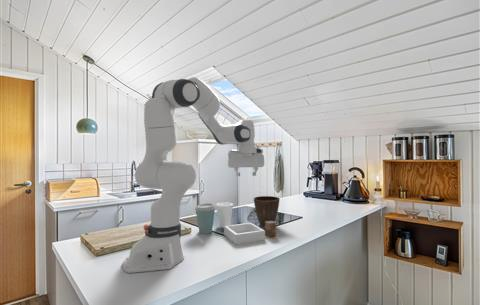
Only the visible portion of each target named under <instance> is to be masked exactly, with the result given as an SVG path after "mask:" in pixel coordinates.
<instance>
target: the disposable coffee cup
mask: <svg viewBox="0 0 480 305" xmlns="http://www.w3.org/2000/svg"><path fill="white" fill-rule="evenodd" d="M194 210H195V214H196V219H197V220H196V221H197V226H198V232H199V233H200V234H201V235H209V234H211V233H213V228H214V220H215V210H216V205H215V203H210V202H209V203H208V202H207V203H201V204H199V205H196V206H195V209H194Z"/></svg>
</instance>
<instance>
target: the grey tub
mask: <svg viewBox="0 0 480 305" xmlns="http://www.w3.org/2000/svg"><path fill="white" fill-rule="evenodd" d="M223 235H224V236H225V237H226V238H227V239H228V240H229V241H231V242H232V243H233V244H235V245H243V244H249V243H254V242H255V243H256V242H259V241H265V240H266V238H265V229H263V228H261V227H259V226H257V225H255V224H254V223H252V222H246V223H239V224H238V223H237V224H230V225H229V226H224V228H223Z"/></svg>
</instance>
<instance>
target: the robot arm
mask: <svg viewBox="0 0 480 305" xmlns="http://www.w3.org/2000/svg"><path fill="white" fill-rule="evenodd" d="M191 106H192V107H193V108H194V109H195V111H197V113H198V116H199V119H200V120H201V121H202V123H203V124H204V125H205V126H206V127H207V129H208V130H209V132H210V134H212V136H213V138H214V140H215V141H216V143H217V144H219V145H221V146H222V145H228V144H229V145H230V144H238V145H237V149H230V150H229V151H228V152H227V153H228V154H227V156H228V160H227V167H228V168H231V169H232V168H233V169H234V171H235V173H236V177H241V172H239V168H253V169H254V170H253V172H252V176H253V177H254V176H255V177H256V176H257V172H258V171H259V168H263V167H264V166H265V157H264V149H262V148H259V147H257V146H256V144H255V140H254V139H255V134H256V133H255V124H254V122H253V121H252V119H247V118H242V119H239V121H238V122H237V123H235V124H228V125H224V124H220V123H219V121H218V120H217V119H216V117H215V116H216V115H217V114H218V112H219V110H220V107H221V101H220V99H219V97H218V95H217V94H216V93H215V92H214V91H213V90H212V89H211V88H210V87H209V85H208V84H206V83H205V82H204V81H203V80H201V79H200V78H198V77H196V76H195V77H190V78H188V79H187V78H180V79H169V80H167V81H164V82H163V81H162V82H160V83H158V84H157V85H155V86H154V88H153V90H152V95H151V98H149V99H147V101H146V102H145V104H144V110H143V122H144V123H143V124H144V131H145V132H144V134H145V145H146V146H145V147H146V149H145V154H144V157H143V160H142V161H141V162H140V164H139V165H138V166H137V167H136V169H135V172H134V178H135V181H136V183H137V185H138V186H141V187H144V188H147V189H152V190H153V189H154V190H155V189H156V190H161V196H160V198H158V199H157V200H155V201H154V202H153V203H152V204H151V206H150V224H149V225H148V224H144V225H143V230H144V235H143V237H141V238H140V239H139V240H138V241H136V242H135V243H134V244H133V245H132V247H131V248H130V252H129V255H128V256H127V257H126V258H125V259H124V260H123V263H122V268H123V271H124V272H126V273H129V274H132V273H133V274H135V273H145V272H153V271H155V272H156V271H164V270H170V269H172V268H173V267H175V266H176V265H177V264H179V263H181V262H182V261H183V260H184V258H185V256H184V254H183V253H184V252H183V248H182V243H181V237H182V236H181V235H182V226H181V225H182V223H181V222H180V221H181V220H180V217H181V216H180V215H181V213H180V212H181V203H182V200H183V197H184V196H185V194H186V193H187V191H188V190H189V189H191V188H193V186H194V184H195V182H196V179H197V173H196V169H195V168H194V165H192V164H190V163H186V162H182V161H168V160H167V156H168V154H169V153H170V152H172V151H173V150H174V149H175V148H176V146H177V138H176V128H175V127H176V126H175V119H174V112H175V110H176V109H182V108H189V107H191Z"/></svg>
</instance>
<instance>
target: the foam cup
mask: <svg viewBox="0 0 480 305" xmlns="http://www.w3.org/2000/svg"><path fill="white" fill-rule="evenodd" d="M233 205H234V204H233V203H231V202H218V203H216V205H215V210H216V214H217V222H218V228H219V229H221V228H223V229H224V226H229V225H232V224H231V223H232V215H233V209H234V207H233Z"/></svg>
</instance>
